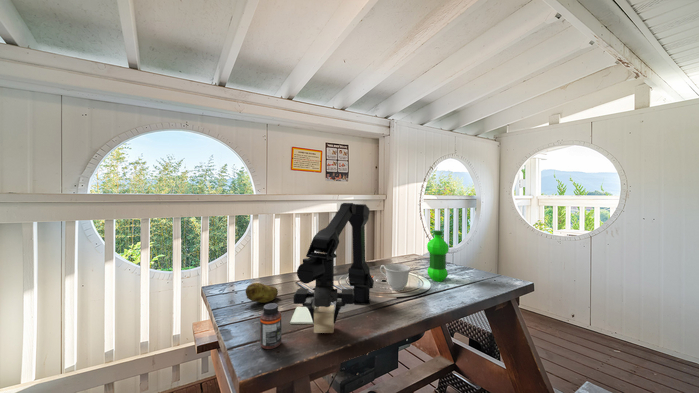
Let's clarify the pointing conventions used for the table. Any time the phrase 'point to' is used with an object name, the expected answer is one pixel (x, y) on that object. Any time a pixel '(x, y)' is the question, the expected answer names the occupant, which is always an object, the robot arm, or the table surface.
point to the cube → (324, 319)
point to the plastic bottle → (437, 257)
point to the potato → (261, 292)
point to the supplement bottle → (270, 326)
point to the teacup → (396, 275)
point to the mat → (301, 316)
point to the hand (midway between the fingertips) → (324, 322)
